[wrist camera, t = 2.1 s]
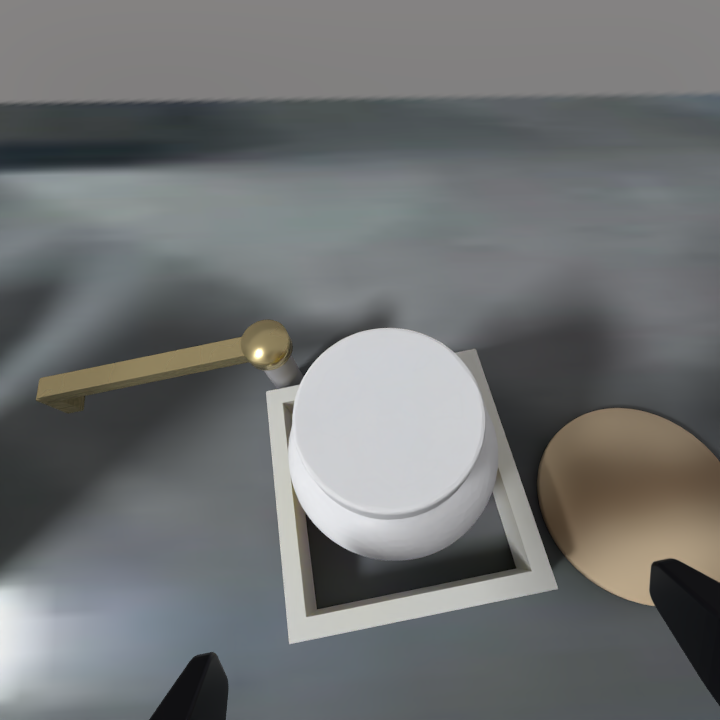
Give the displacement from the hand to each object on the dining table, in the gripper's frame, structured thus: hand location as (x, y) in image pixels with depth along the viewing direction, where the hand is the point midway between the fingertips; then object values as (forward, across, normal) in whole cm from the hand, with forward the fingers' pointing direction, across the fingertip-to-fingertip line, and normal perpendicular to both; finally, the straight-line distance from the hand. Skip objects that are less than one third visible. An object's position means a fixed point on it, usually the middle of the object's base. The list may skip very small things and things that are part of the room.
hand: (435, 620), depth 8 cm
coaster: (+10, -11, +8) cm, 17 cm away
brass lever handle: (+14, +9, -2) cm, 17 cm away
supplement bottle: (+12, 0, +6) cm, 13 cm away
